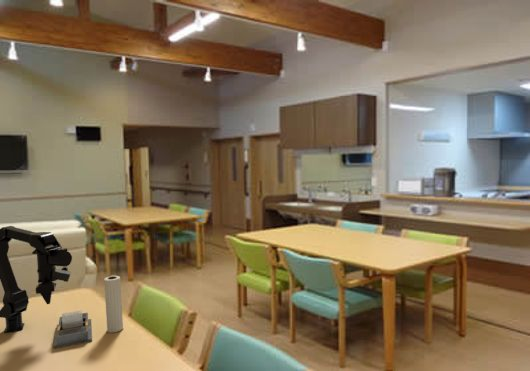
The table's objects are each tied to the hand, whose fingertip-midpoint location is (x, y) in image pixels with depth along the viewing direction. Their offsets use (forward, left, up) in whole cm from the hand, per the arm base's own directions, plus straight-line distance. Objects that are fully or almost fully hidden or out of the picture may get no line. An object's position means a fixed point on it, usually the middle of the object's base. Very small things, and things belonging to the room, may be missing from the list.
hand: (48, 303), depth 161 cm
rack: (+5, +8, -12) cm, 16 cm away
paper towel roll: (+8, +24, -12) cm, 28 cm away
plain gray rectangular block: (+7, +8, -11) cm, 16 cm away
